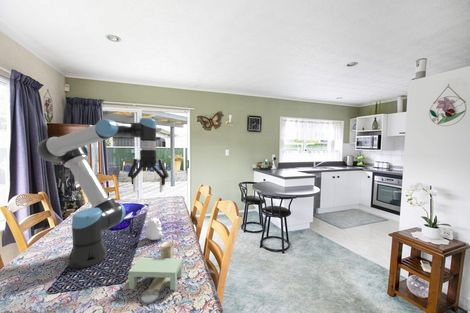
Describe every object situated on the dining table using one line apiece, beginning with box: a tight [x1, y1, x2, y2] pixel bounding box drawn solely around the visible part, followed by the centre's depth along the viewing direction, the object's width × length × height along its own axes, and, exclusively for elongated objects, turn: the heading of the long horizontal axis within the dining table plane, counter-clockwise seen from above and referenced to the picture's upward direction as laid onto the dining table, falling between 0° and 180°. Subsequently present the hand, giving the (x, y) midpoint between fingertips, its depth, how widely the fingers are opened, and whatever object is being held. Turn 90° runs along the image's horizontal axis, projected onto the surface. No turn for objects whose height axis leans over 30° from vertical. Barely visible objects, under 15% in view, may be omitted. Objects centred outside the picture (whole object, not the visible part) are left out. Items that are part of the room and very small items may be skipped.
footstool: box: [128, 257, 183, 291], centre depth 88 cm, size 18×10×7 cm, turn 88°
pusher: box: [147, 241, 175, 292], centre depth 91 cm, size 4×18×11 cm, turn 178°
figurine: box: [144, 217, 164, 241], centre depth 128 cm, size 10×10×12 cm
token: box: [140, 289, 160, 304], centre depth 79 cm, size 6×6×2 cm
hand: (148, 191), depth 111 cm, fingers open, 13 cm apart
